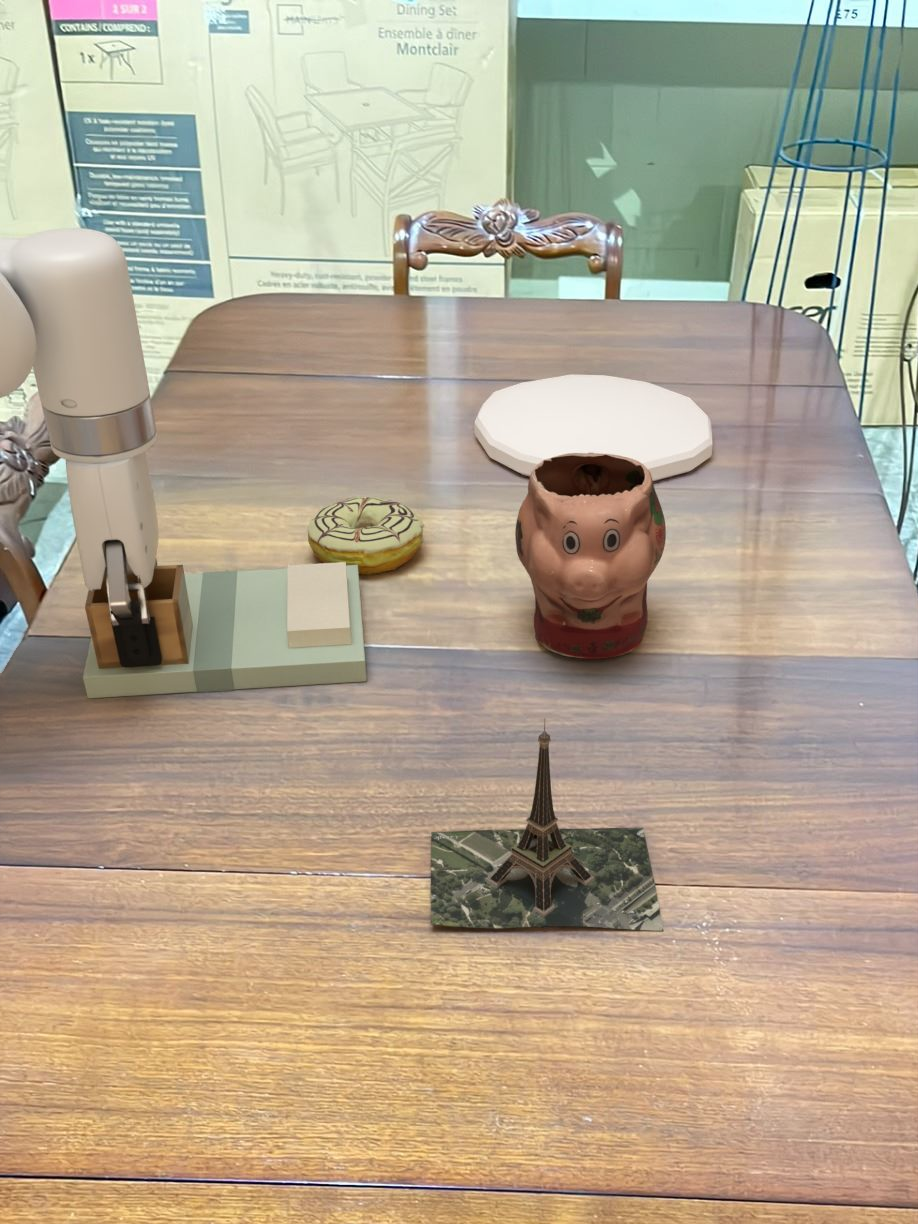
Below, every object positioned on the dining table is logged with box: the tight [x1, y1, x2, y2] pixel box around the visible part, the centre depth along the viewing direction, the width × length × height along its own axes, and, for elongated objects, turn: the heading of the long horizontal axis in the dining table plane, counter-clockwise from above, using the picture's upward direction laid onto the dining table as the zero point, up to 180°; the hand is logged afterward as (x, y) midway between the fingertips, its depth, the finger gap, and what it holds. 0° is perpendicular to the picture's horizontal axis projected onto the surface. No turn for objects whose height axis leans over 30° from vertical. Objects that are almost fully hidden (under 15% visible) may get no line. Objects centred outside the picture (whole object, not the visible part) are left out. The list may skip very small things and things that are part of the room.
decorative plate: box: [474, 373, 714, 482], centre depth 144 cm, size 25×4×25 cm
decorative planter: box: [514, 453, 667, 659], centre depth 112 cm, size 20×12×14 cm, turn 3°
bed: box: [82, 562, 368, 699], centre depth 113 cm, size 22×16×4 cm
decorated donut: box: [307, 496, 425, 575], centre depth 124 cm, size 10×11×4 cm
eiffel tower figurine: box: [430, 718, 665, 932], centre depth 86 cm, size 15×10×13 cm
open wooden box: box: [84, 564, 193, 669], centre depth 107 cm, size 7×6×6 cm
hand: (145, 640), depth 109 cm, fingers closed on open wooden box, 6 cm apart
